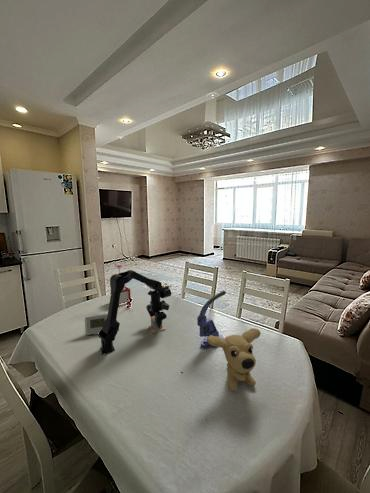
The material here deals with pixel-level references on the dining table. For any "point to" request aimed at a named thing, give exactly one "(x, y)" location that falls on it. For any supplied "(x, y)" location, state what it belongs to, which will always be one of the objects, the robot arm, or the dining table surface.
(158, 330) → the tan piece
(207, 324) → the hand press
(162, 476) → the dining table surface
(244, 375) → the toy
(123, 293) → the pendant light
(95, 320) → the digital clock
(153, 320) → the grey-topped salmon cube
